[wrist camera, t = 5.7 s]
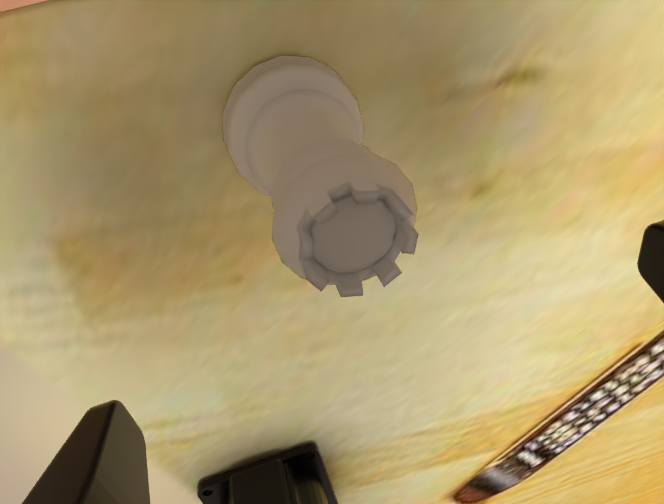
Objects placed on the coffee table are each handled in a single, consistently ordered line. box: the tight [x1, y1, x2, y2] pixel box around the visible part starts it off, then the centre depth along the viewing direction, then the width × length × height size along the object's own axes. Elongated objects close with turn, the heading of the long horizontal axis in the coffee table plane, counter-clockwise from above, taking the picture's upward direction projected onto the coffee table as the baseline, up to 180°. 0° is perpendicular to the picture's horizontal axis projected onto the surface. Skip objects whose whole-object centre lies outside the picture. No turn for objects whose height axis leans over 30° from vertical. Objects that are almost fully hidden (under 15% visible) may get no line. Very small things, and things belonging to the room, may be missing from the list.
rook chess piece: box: [223, 56, 418, 297], centre depth 13 cm, size 4×4×8 cm
